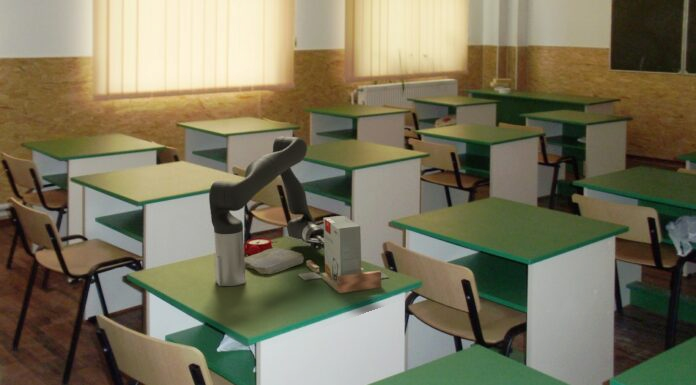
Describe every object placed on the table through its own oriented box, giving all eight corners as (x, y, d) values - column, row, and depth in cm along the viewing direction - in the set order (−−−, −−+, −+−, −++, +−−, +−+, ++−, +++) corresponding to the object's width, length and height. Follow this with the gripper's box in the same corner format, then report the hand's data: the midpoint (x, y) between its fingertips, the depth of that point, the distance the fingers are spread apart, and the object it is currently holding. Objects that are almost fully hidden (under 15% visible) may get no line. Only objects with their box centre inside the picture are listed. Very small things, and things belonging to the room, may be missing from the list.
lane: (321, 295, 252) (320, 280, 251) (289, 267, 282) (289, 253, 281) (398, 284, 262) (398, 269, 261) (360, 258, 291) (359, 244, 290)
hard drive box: (324, 276, 272) (322, 217, 268) (346, 273, 275) (344, 214, 271) (339, 289, 258) (338, 227, 254) (362, 286, 261) (361, 225, 256)
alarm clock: (280, 240, 305) (253, 240, 293) (279, 257, 306) (251, 257, 293) (259, 236, 311) (232, 236, 299) (258, 253, 312) (230, 253, 299)
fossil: (232, 270, 286) (264, 276, 274) (231, 257, 285) (263, 263, 273) (275, 259, 300) (308, 265, 288) (274, 247, 299) (307, 252, 287)
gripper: (297, 228, 292) (312, 239, 277) (332, 224, 297) (349, 235, 281) (297, 248, 294) (313, 261, 278) (332, 244, 298) (350, 256, 283)
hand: (331, 248), depth 280 cm, fingers closed
